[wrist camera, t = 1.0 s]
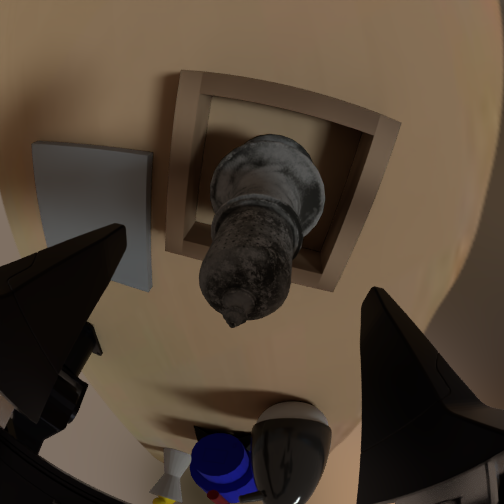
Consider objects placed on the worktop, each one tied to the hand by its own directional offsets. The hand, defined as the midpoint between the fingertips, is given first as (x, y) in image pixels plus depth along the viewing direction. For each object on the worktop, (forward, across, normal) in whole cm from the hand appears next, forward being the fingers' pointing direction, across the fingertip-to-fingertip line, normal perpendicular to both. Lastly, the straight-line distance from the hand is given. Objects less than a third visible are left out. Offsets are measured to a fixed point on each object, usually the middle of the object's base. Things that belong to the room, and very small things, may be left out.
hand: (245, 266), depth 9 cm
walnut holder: (+9, 0, 0) cm, 9 cm away
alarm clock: (+10, -4, +47) cm, 48 cm away
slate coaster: (+9, +14, +6) cm, 18 cm away
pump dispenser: (+10, -10, +29) cm, 32 cm away
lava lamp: (+10, +7, +77) cm, 78 cm away
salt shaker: (+9, 0, 0) cm, 9 cm away
